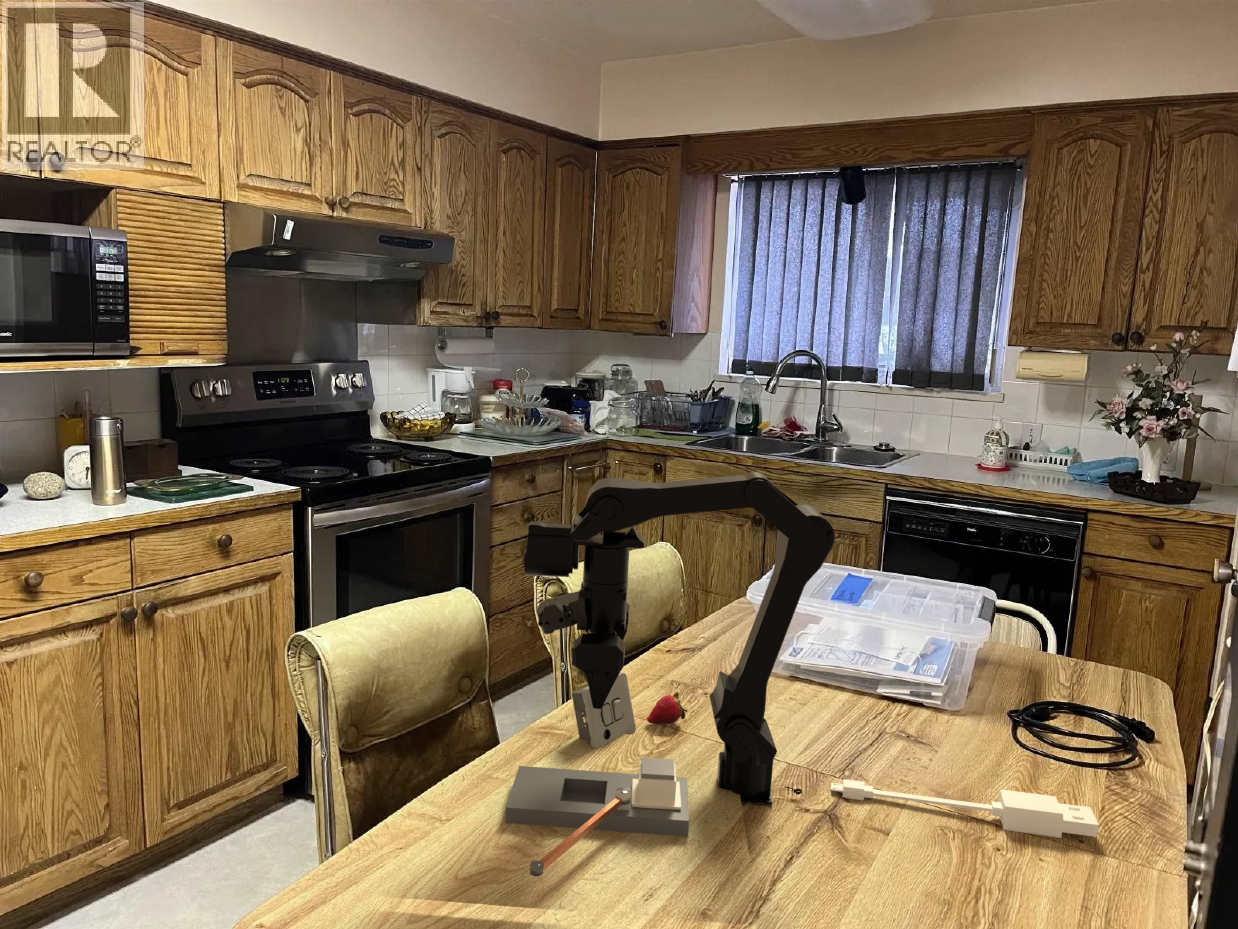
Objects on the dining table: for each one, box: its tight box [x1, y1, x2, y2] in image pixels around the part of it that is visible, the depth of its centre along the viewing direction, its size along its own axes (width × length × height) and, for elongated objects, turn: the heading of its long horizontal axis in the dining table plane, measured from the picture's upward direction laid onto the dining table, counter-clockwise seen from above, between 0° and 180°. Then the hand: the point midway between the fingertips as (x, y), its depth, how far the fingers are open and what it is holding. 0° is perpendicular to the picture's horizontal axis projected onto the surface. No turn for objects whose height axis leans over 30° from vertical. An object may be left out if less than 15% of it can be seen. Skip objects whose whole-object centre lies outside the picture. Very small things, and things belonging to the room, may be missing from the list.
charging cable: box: [830, 778, 1100, 839], centre depth 119 cm, size 5×32×3 cm, turn 76°
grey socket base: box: [505, 765, 690, 837], centre depth 114 cm, size 22×10×4 cm, turn 87°
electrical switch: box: [571, 671, 637, 749], centre depth 134 cm, size 9×5×9 cm, turn 141°
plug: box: [632, 757, 681, 811], centre depth 114 cm, size 6×6×6 cm
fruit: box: [646, 691, 688, 725], centre depth 140 cm, size 4×6×5 cm
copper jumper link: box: [529, 787, 632, 877], centre depth 104 cm, size 19×2×1 cm, turn 148°
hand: (599, 693), depth 119 cm, fingers open, 9 cm apart
